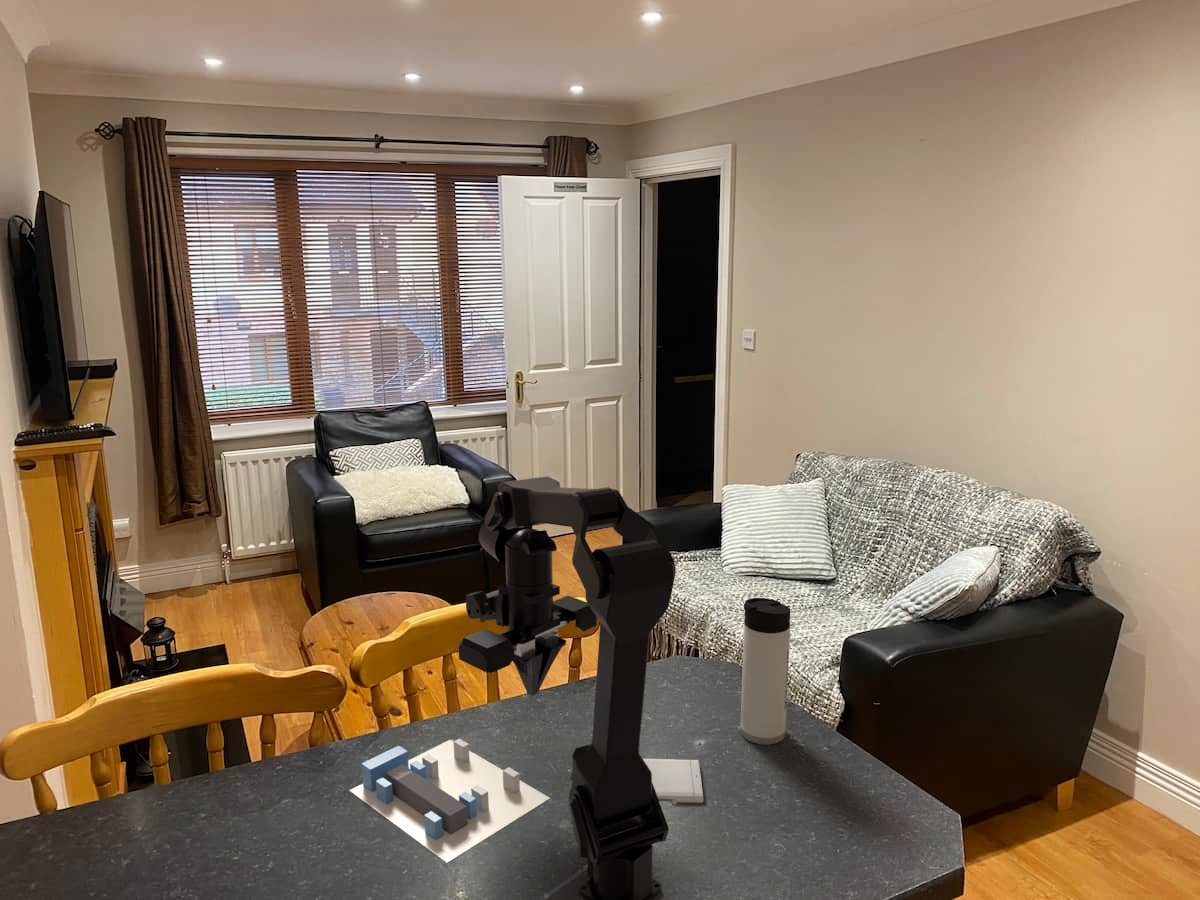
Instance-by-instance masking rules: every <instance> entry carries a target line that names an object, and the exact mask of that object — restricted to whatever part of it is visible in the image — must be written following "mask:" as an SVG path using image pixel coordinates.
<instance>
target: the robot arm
mask: <svg viewBox="0 0 1200 900" xmlns="http://www.w3.org/2000/svg"><path fill="white" fill-rule="evenodd" d="M497 490H498V492H497V491H496V492H494V494H493V496H492V500H491V503H490V505H489V508H488V510H487V512H486V513H485V516H484V517H483V519H484V521H483V523H482V524H481V526H480V529H479V531H478V541H479V544H480V546H481V547H482V548H483V549H484V551H486V552H487V553H488V554H489V555H490V556H492V557H493V558H494V559H496V561H498V562H499V563H500V564H502V565H503V566H505V581H506V582H505V583H503V584H500V585H499V587H498V589H497V590H494V591H490V592H489V593H485V591H483V590H480V591H475V592H472V593H469V594H467V595H465V596H466V598H465V608H466V614H467V616H468V618H469V619H470V620H479V622H480V623H485V622H486V621H492V620H493V621H495V623H496V624H495V625H496V626H500V627H502V628H504V627H507V631H506V632H503V633H500V634H498V633H496V632H493V631H492V630H489V629H487V628H484V629H482V630H479V631H477V632H475V633H472V634H468V635H467V636H466V635H465V636H464V637H463V638H462V639H461V640H460V641H459V642H458V660H460V661H462V662H463V663H466V664H468V665H470V666H472V667H474V668H476V669H478V670H480V671H482V672H484V673H489V674H490V673H493V674H494V673H496V672H497V671H500V670H502V669H505V668H506V667H508V666H510V665H511V664H512V663H513V664H514V666H515V668H516V670H517V672H518V675H519V678H520V679H521V682H522V684H523V686H524V689H525V691H526V693H527V695H530V696H531V697H532V696H536V695H538V693H539V691H540V689H541V687H542V684H543V683H544V681H545V679H546V677H547V675H548V672H550V669H551V667H552V665H553V664H554V662H555V660H556V658H557V656H558V655H559V653H560V651H561V650H562V648H563V647H565V646H566V645H567V640H566V639H564V638H563V637H560V635H559V634H560V633H559V632H558V631H559V630H558V629H559V628H561V627H564V626H566V625H569V624H571V622H575V628H577V629H578V630H579V631H581V632H586V631H588V630H590V629H592V628H594V627H596V626H597V624H598V622H599V634H598V635H599V637H598V653H597V665H596V666H597V667H596V680H595V681H596V683H595V694H594V695H595V696H594V709H593V710H594V711H593V725H592V738H591V743H589V744H585V745H583V746H579V747H575V749H574V751H573V753H572V757H571V759H572V770H571V771H572V772H571V774H570V778H569V779H570V781H571V788H570V790H569V794H568V795H569V796H568V802H569V803H568V807H569V808H568V809H569V811H570V817H571V822H572V829H573V835H574V837H575V841H576V842H577V855H579V857H580V858H585V859H586V861H587V863H586V865H587V870H586V871H587V877H588V878H589V879H588V880H587V881H585V882H584V883H583V884H581V885H580V886H579V894H581V895H582V896H583V897H585V898H587V899H588V900H652V899H653V898H654V897H655V896H656V895H658V894H659V893H660V892H661V891H662V884H661V883H660V882H659V881H657V880H655V879H653V847H654V846H653V845H655V844H657V843H659V842H660V843H662V842H665V841H666V840H667V837H668V834H669V825H668V823H667V820H666V816H665V814H664V811H663V809H662V805H661V803H660V799H658V797H657V794H656V792H655V789H654V786H653V783H652V773H651V771H650V769H649V768H648V766H647V765H646V763H645V762H644V760H643V759H644V758H643V757H642V756H641V754H640V743H641V732H642V731H641V730H642V723H643V722H642V720H643V710H644V700H645V699H644V698H645V689H646V687H645V686H646V677H647V676H646V675H647V667H648V665H647V664H648V655H649V647H650V644H649V643H650V635H651V632H652V630H653V629H654V628H655V626H656V625H657V624H658V622H659V621H660V620H661V618H662V617H663V616H664V614H665V613H666V612H667V610H668V609H669V606H670V601H671V596H672V594H673V593H672V592H673V588H674V583H675V578H676V568H677V567H676V565H675V564H676V563H675V560H674V557H673V556H672V553H671V552H670V550H669V549H668V546H667V545H666V544H665V542H664V540H663V538H662V536H661V534H660V532H659V530H658V529H657V527H656V526H655V524H653V523H651V522H650V521H649V520H647V519H646V518H644V516H642V515H641V514H639V513H638V512H637V511H635V510H633V509H632V508H631V507H629V506H628V505H627V503H626V501H625V500H624V498H623V496H622V494H621V492H620V491H619V490H617V489H616V488H610V487H609V486H607V487H601V488H600V487H599V488H581V487H561V483H560V482H559V481H558V480H557V479H554V478H552V477H550V476H541V477H532V478H525V479H523V478H522V479H516V480H509V481H501V482H500V483H499V484H498V486H497ZM546 524H548V525H553V526H554V525H556V526H562V527H570V528H571V529H572V531H573V533H574V535H575V542H574V546H573V551H572V552H573V553H572V558H571V561H572V562H571V563H572V565H573V567H574V569H575V571H576V574H577V575H578V578H579V580H580V582H581V584H582V586H583V588H584V590H585V601H584V600H582V599H579V598H576V597H573V596H570V595H566V596H563V597H560V598H558V599H556V600H554V599H553V598H554V597H556V596H558V595H561V593H560V592H561V590H560V589H561V587H560V585H558V584H554V583H553V581H554V579H553V575H554V574H553V552H556V551H557V550H558V548H557V544H556V542H555V540H553V539H552V538H551V537H550V535H549V534H548V532H547V530H546V529H544V530H539V529H536V528H533V526H542V525H546ZM609 527H612V528H613V530H614V531H615V532H616V534H618V535H620V536H621V537H622V538H624V539H625V540H626V541H628V542H629V543H624V544H618V545H613V546H606V547H600V548H596V549H594V550H593V551H592V549H591V547H590V546H589V544H588V541H587V540H586V535H587V531H591V530H596V529H601V528H609Z"/></svg>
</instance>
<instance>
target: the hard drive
mask: <svg viewBox="0 0 1200 900" xmlns="http://www.w3.org/2000/svg"><path fill="white" fill-rule="evenodd" d="M642 759H643V760H644V762H645V763H646V765H647V766H648V768H649V769H650V771H651V773H652V783H653V786H654V789H655V792H656V794H657V797H658V800H671V801H670V803H697V804H698V803H703V804H704V792H703V786H702V785H703V784H702V776H701V768H700V762H699V761H700V760H699V759H672V758H671V759H670V758H667V759H666V758H642Z"/></svg>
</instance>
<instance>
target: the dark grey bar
mask: <svg viewBox="0 0 1200 900" xmlns="http://www.w3.org/2000/svg"><path fill="white" fill-rule="evenodd" d="M386 780H387V781H389V782H390V783H391V784H392V793H393V795H395V796H396V797H397V798H399V799H400V800H402V801H403V802H405V803H406V804H407V805H409V806H410V807H412V808H413V809H415V810H416V811H417V812H419V813H420V814H422V815H423V816H424V815H425V814H427V813H429V812H430V811H432V812H433V813H435V814H436V815H438V816H439V817H441V818H442V829H443V830H445V831H446V832H447V833H449V834H450V835H451V834H453V833H455V832H456V831H458V830H460V829H461V828H463V827H465V826H466V825H468V822H467V806H466V805H464V804H463V803H461V802H460V801H458V800H457V799H455V798H454V797H452V796H450V795H449V794H447V793H446V792H444V791H443V790H441V789H440V788H438V787H437V786H435V785H434V784H432V783H431V782H429V781H427V780H426V779H424V778H423V777H421V776H420V775H418V774H417V773H415V772H414V771H412V770H411V769H409V768H408V767H406V766H404V765H403V764H401V765H399V766H397V767H395V768H394V769H392V770H390V771H388V772H386Z"/></svg>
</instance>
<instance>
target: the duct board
mask: <svg viewBox="0 0 1200 900" xmlns="http://www.w3.org/2000/svg"><path fill="white" fill-rule="evenodd" d="M401 764H403V765H404V766H406V767H408V768H409V769H411V770H412V771H414V772H415V773H417V774H418V775H420V776H421V777H423V778H424V779H426V780H427V781H429V782H431V783H432V784H434V785H435V786H437V787H438V788H440V789H441V790H443V791H444V792H446V793H447V794H449V795H450V796H452V797H454V798H455V799H457V800H458V801H460V802H461V803H463V804H464V805H466V806H467V822H468V825H466V826H465V827H463V828H461V829H460V830H458V831H456V832H455V833H453V834H451V835H450V834H449V833H447V832H446V831H445V830H443V829H442V818H441V817H439V816H438V815H436V814H435V813H433V812H432V811H430V812H429V813H427V814H425V815H424V816H423V815H422V814H420V813H419V812H417V811H416V810H415V809H413V808H412V807H410V806H409V805H407V804H406V803H405V802H403V801H402V800H400V799H399V798H397V797H396V796H395V795H393V793H392V784H391V783H390V782H389V781H387V780H386V772H388V771H390V770H392V769H394V768H395V767H397V766H399V765H401ZM361 774H362V777H361V778H362V784H359V785H357V786H355V787H353V788H351V789H349V790H348V791H349V792H350V793H352V794H354V795H355V796H356V797H357V798H359V799H360V800H361V801H363V802H364V803H365V804H367V805H368V806H369V807H371V808H372V809H373V810H375V812H378V814H380V815H381V816H383V817H384V818H386V819H387V820H388V821H389V822H391V823H392V824H394V825H395V827H398V828H399V829H401V830H402V831H403V832H404V833H405V834H407V835H408V836H410V837H411V838H413V839H414V840H415V841H416V842H418V843H419V844H420V845H422V846H423V847H424V848H426V849H427V850H429V851H430V852H431V853H433V854H434V855H435V856H437V857H438V858H440V859H441V860H442V861H443V862H445V863H446V864H448V863H449V862H451V861H452V860H455V858H458V857H459V856H461V855H462V854H464V853H466V852H468V850H470V849H472V848H473V847H475V846H477V845H478V844H480V843H482V842H483V841H485V840H486V839H487V838H489V837H491V836H493V835H494V834H496V833H497V832H498V831H500V830H502V829H503V828H505V827H507V826H508V825H510V824H511V823H512V824H513V822H515V821H516V820H518V819H520V818H521V817H523V816H525V815H526V814H528V813H529V812H531V811H532V810H534V809H536V808H537V807H538V806H540V805H542V804H543V803H545V802H547V801H549V800H550V799H551V797H549V796H548V795H546V794H544V793H542V792H541V791H540V790H539V791H538V789H535V788H533V787H532V786H530V785H528V784H527V783H525V782H524V781H523V780H521V778H520V773H519V772H518V771H517V770H514V769H513V768H511V767H507V768H505V769H501V768H500V767H498V766H496V765H495V764H494V763H491V762H489V761H488V760H486V759H484V758H482V757H481V756H480V755H478V754H476V753H474V752H473V751H472V750H470V744H469V743H468V742H466V741H465V740H463V739H461V738H458V739H456V740H452V739H448V740H446V741H444V742H443V743H441V744H438V745H437V746H434V747H432V748H430V749H428V750H425V751H424V752H423V753H421V754H418V755H417V756H415V757H413V758H410V759H409V752H408V750H407V749H405V748H404V747H402V746H400V745H397V746H395V747H393V748H391V749H389V750H387V751H384V752H382V753H380V754H378V755H376V756H374V757H372V758H370V759H368V760H366V761H364V762H362V763H361Z"/></svg>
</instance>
